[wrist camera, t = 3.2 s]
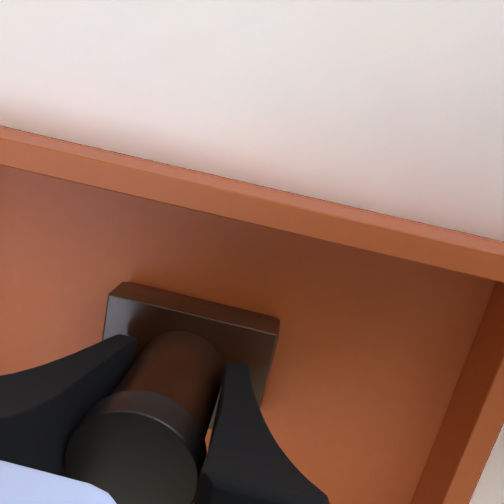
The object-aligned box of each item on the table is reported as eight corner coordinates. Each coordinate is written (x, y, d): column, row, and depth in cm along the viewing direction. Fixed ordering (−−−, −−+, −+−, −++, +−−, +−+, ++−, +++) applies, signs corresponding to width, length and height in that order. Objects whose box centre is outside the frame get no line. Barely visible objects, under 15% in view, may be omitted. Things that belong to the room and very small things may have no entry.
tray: (527, 247, 15) (571, 269, 12) (402, 561, 19) (417, 625, 16) (-42, 116, 16) (-104, 113, 13) (-53, 442, 19) (-103, 486, 17)
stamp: (281, 315, 16) (269, 430, 10) (256, 412, 17) (232, 570, 11) (125, 277, 16) (19, 367, 10) (111, 375, 17) (8, 510, 11)
